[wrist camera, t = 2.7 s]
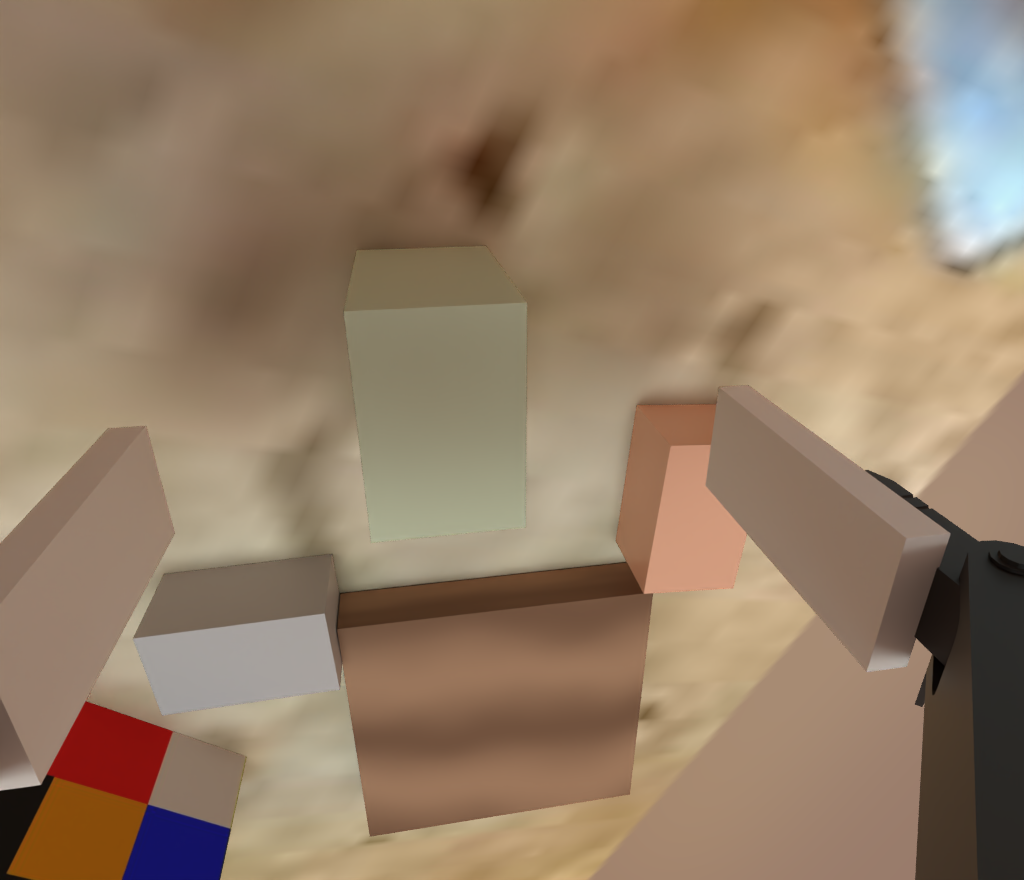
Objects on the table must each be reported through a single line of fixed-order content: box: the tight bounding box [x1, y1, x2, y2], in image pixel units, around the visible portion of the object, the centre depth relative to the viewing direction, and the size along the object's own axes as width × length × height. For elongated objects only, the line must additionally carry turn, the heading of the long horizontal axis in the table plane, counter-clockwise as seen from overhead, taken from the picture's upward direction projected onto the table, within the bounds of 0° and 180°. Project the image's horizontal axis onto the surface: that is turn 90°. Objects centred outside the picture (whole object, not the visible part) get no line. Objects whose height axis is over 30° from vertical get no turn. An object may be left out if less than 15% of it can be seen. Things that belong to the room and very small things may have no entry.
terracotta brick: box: [616, 404, 747, 594], centre depth 25 cm, size 6×4×4 cm, turn 177°
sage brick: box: [343, 246, 527, 543], centre depth 19 cm, size 6×4×7 cm, turn 0°
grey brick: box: [133, 554, 342, 715], centre depth 24 cm, size 6×4×4 cm, turn 92°
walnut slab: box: [337, 562, 653, 836], centre depth 28 cm, size 12×12×2 cm
